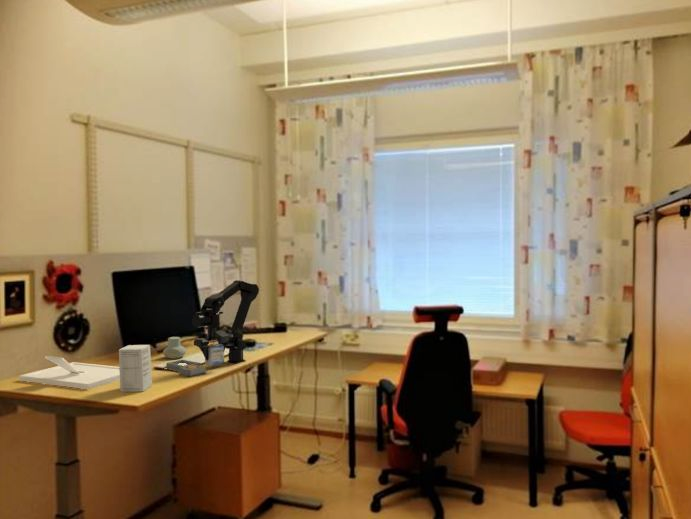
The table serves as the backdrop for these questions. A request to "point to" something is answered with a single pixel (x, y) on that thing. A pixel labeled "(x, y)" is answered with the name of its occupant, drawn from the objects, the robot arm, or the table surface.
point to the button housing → (192, 371)
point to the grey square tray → (175, 366)
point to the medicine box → (215, 355)
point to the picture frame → (74, 374)
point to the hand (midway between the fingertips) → (214, 358)
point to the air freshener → (174, 348)
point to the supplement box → (135, 368)
